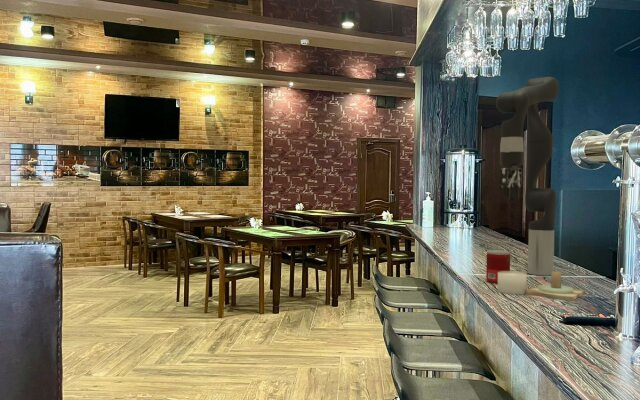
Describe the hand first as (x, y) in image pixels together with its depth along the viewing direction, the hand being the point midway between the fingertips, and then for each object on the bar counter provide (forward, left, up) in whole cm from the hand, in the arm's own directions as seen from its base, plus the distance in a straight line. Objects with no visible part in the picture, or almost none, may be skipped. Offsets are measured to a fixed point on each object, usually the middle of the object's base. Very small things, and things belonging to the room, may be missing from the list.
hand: (510, 198), depth 188 cm
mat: (+2, +16, -30) cm, 34 cm away
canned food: (-5, -6, -30) cm, 31 cm away
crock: (+8, +4, -30) cm, 31 cm away
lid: (+2, +16, -29) cm, 33 cm away
